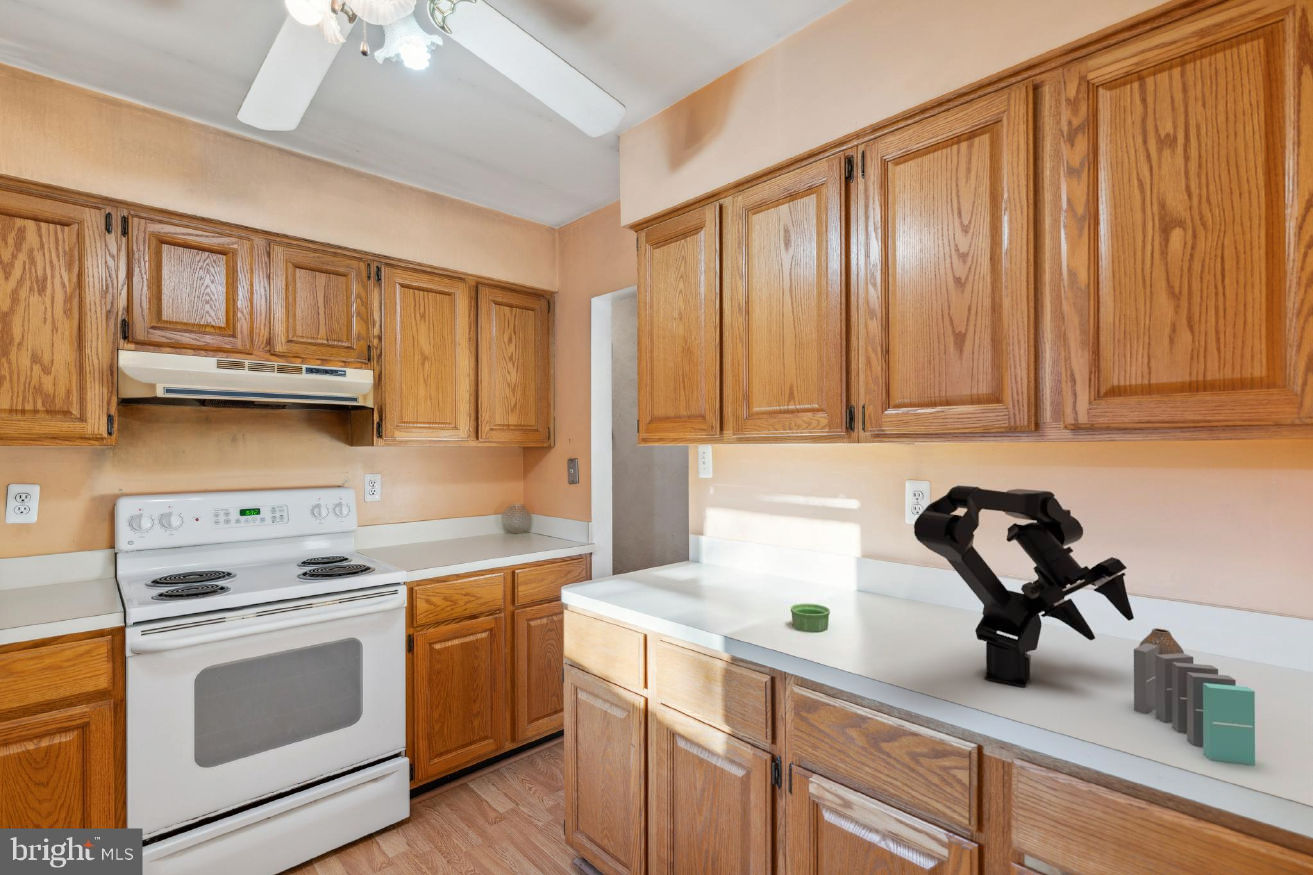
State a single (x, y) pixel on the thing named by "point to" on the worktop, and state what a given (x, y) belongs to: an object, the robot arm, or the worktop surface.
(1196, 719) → the domino
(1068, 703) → the worktop surface
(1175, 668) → the domino
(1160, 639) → the vase
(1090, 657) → the worktop surface
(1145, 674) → the domino
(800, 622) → the ramekin
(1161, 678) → the domino
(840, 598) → the worktop surface
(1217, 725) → the domino
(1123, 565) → the robot arm
